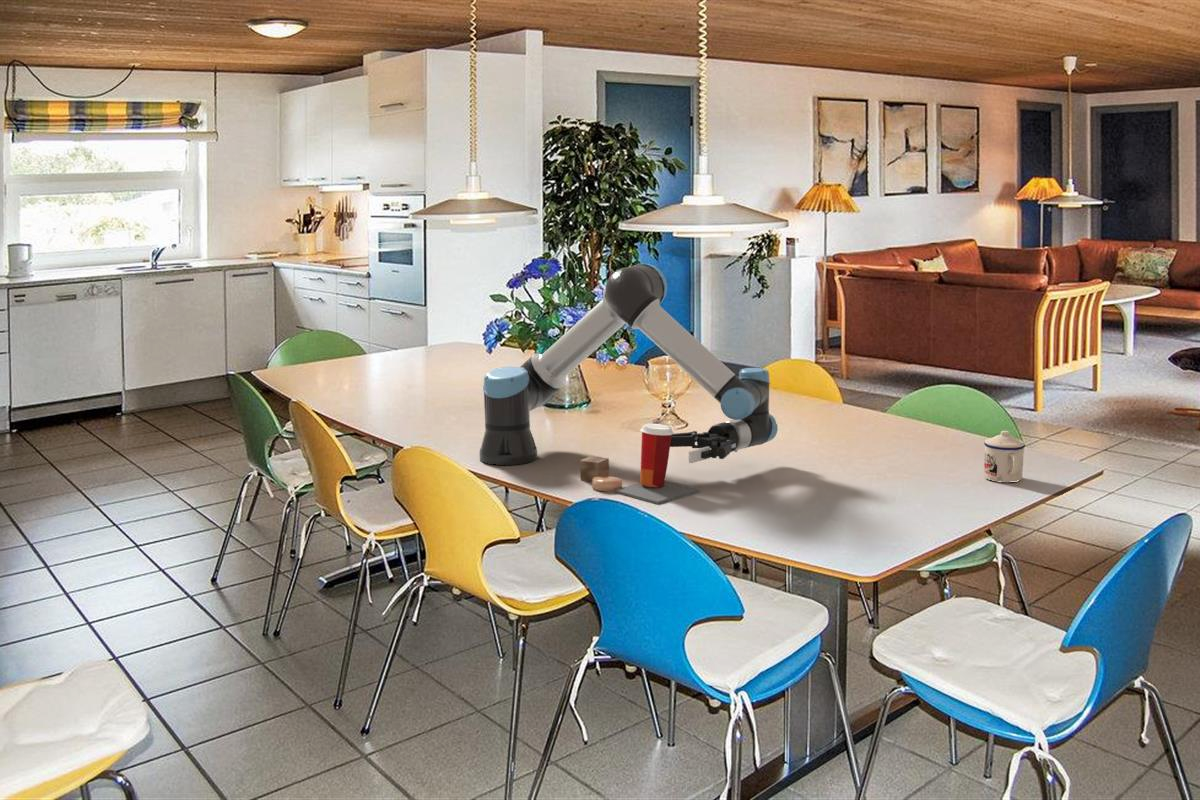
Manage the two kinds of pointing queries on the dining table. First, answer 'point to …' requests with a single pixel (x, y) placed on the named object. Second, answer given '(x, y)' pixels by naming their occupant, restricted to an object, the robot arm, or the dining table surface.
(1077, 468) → the dining table surface
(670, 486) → the mat
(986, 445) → the teacup with lid
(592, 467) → the walnut block
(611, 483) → the tan rounded disc
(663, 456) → the paper cup
